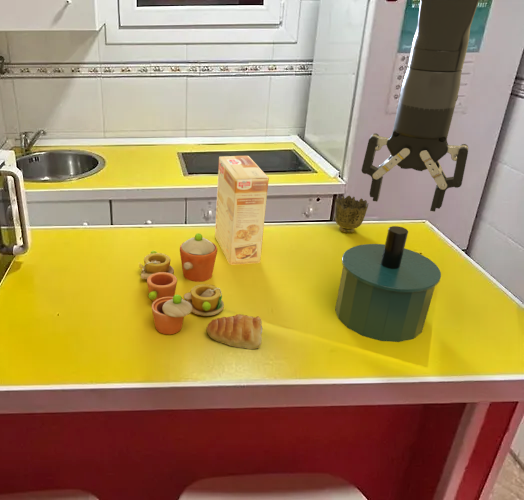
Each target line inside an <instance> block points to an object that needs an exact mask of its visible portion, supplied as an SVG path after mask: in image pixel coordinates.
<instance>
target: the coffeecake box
mask: <svg viewBox="0 0 524 500" xmlns="http://www.w3.org/2000/svg"><path fill="white" fill-rule="evenodd" d="M217 168H218V169H217V170H218V171H217V189H216V207H215V223H214V237H215V240H216V242H217V243H218V245H219V247H220V249H221V252H222V253H223V255H224V257H225V259H226V261H227V263H228V265H229V266H232V265H249V264H260V263H261V261H262V260H261V259H262V249H263V241H264V240H263V237H264V228H265V221H266V220H265V219H266V208H267V198H268V190H269V181H270V180H269V179H270V177H269V176H268V175H267V174H266V173H265V172H264V171H263V170H262V169H261V168H260V166H259V165H258V164H257V163H256V162H255V161H254V160H253V159H252V158H251V156H249V155H231V156H230V155H224V156H222V155H221V156H219V157H218V167H217Z"/></svg>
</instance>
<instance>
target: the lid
mask: <svg viewBox="0 0 524 500" xmlns="http://www.w3.org/2000/svg"><path fill="white" fill-rule="evenodd" d="M408 234H409V230H408V229H407V228H405V227H402V226H398V225H397V226H396V225H392V226H389V227H388V230H387V234H386V239H385V243H384V244H383V243H366V244H365V243H364V244H360V245H356V246H352V247H350V248H348V249H347V250H346V251H344V253H343V254H342V257H341V265H342V268H343V267H344V269H345V270H346V271H347V272H348V273H349V274H350V275H351V276H353V277H354V278H356V279H358V280H359V281H361V282H363V283H366V284H368V285H371V286H374V287H377V288H380V289H384V290H389V291H396V292H420V291H425V290H429V289H431V288H433V287H436V286H437V285H439V283H440V281H441V278H442V272H441V270H440V268H439V267H438V265H437V264H436V263H435V262H434V261H432V260H431V259H430V258H428V257H426V256H425V255H423V254H420V253H419V252H416V251H414V250H411V249H408V248H406V243H407V238H408Z"/></svg>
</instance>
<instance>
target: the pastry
mask: <svg viewBox="0 0 524 500" xmlns="http://www.w3.org/2000/svg"><path fill="white" fill-rule="evenodd" d="M262 324H263V322H262V318H261V317H260V316H251V315H246V314H240V313H239V314H234V315H231V316H222V317H218V318H215V319H211V320H210V321H209V323H208V324H207V326H206V333H207V335H208V336H209V337H210V339H212V340H214V341H215V342H216V341H217V342H218V343H222V344H224V345H226V346H230V347H235V348H240V349H242V348H244V349H246V350H255V349H259V348H260V347H261V345H262V339H263V338H262V337H263V336H262V334H263V325H262Z"/></svg>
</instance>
